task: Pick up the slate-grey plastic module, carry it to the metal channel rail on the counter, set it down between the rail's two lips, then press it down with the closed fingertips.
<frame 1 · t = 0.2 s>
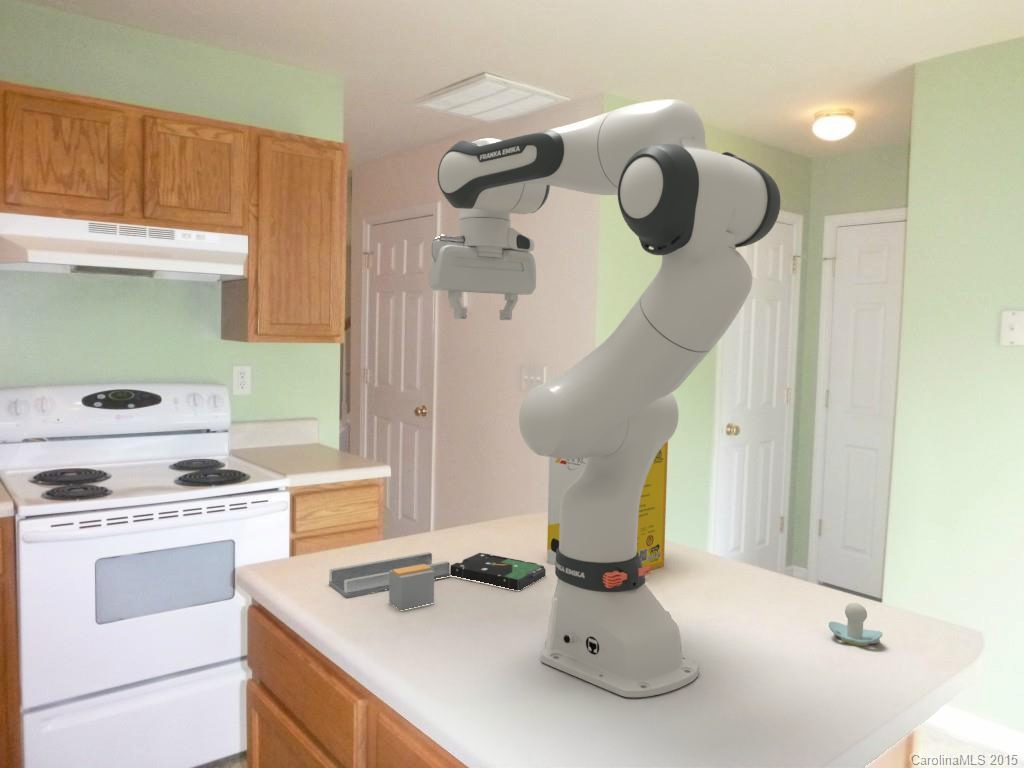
hand: (483, 319, 131), 47 cm above the countertop, tool pointing down, fingers open, 8 cm apart
module: (411, 604, 126), on the countertop
pacifier: (855, 642, 114), on the countertop
rail: (390, 581, 137), on the countertop
packaging box: (605, 565, 149), on the countertop
disk drive: (497, 580, 140), on the countertop
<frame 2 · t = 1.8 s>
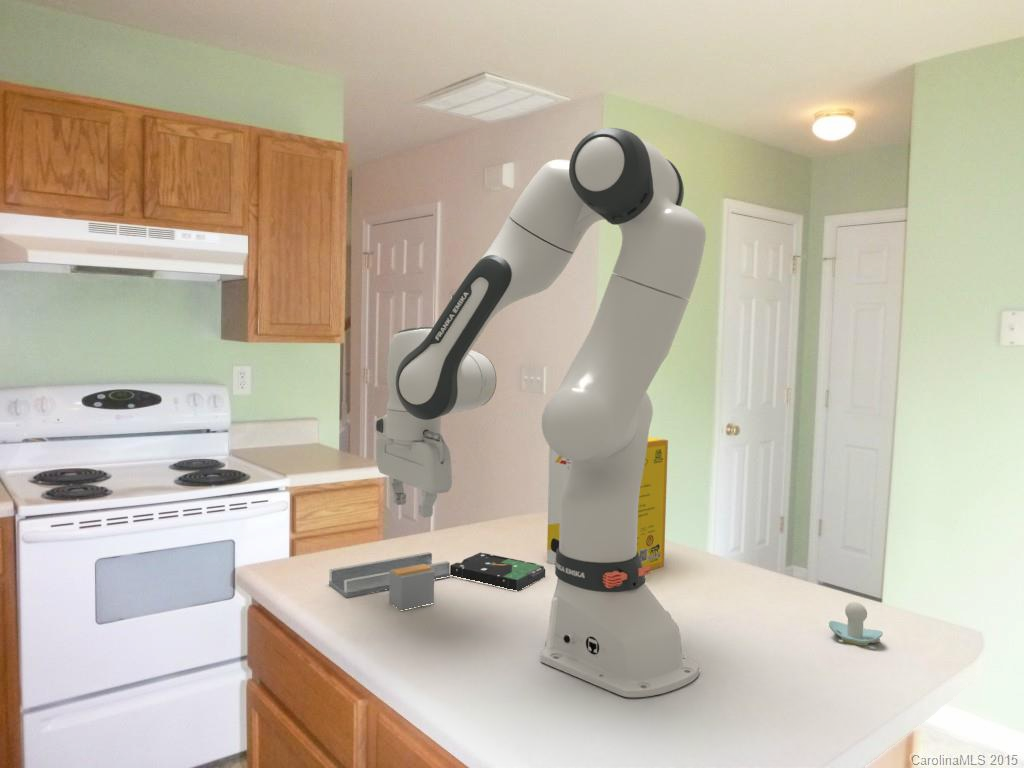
hand: (411, 509, 125), 16 cm above the countertop, tool pointing down, fingers open, 8 cm apart
nothing on the countertop moved.
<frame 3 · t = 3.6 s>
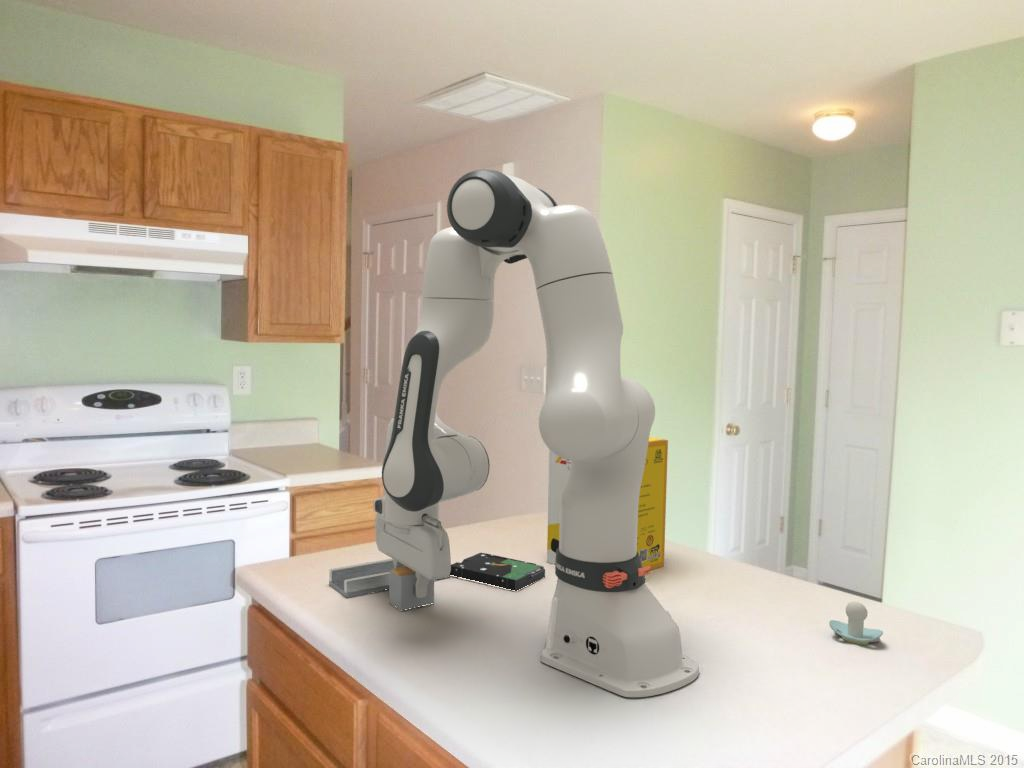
hand: (411, 591, 125), 2 cm above the countertop, tool pointing down, fingers closed on module, 4 cm apart
module: (411, 603, 126), on the countertop, touching gripper
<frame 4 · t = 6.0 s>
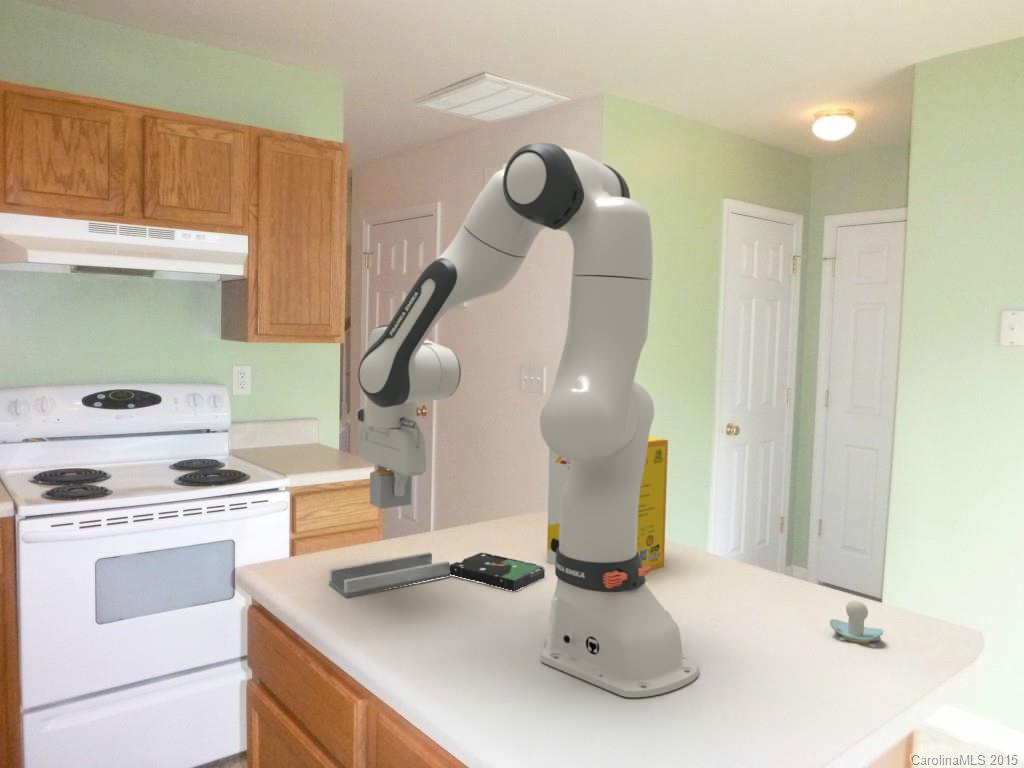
hand: (390, 492, 135), 16 cm above the countertop, tool pointing down, fingers closed on module, 4 cm apart
module: (390, 504, 136), point 14 cm above the countertop, touching gripper
when the fingers open (4 cm above the countertop, at t = 8.5 s): module drops 1 cm, resting on rail.
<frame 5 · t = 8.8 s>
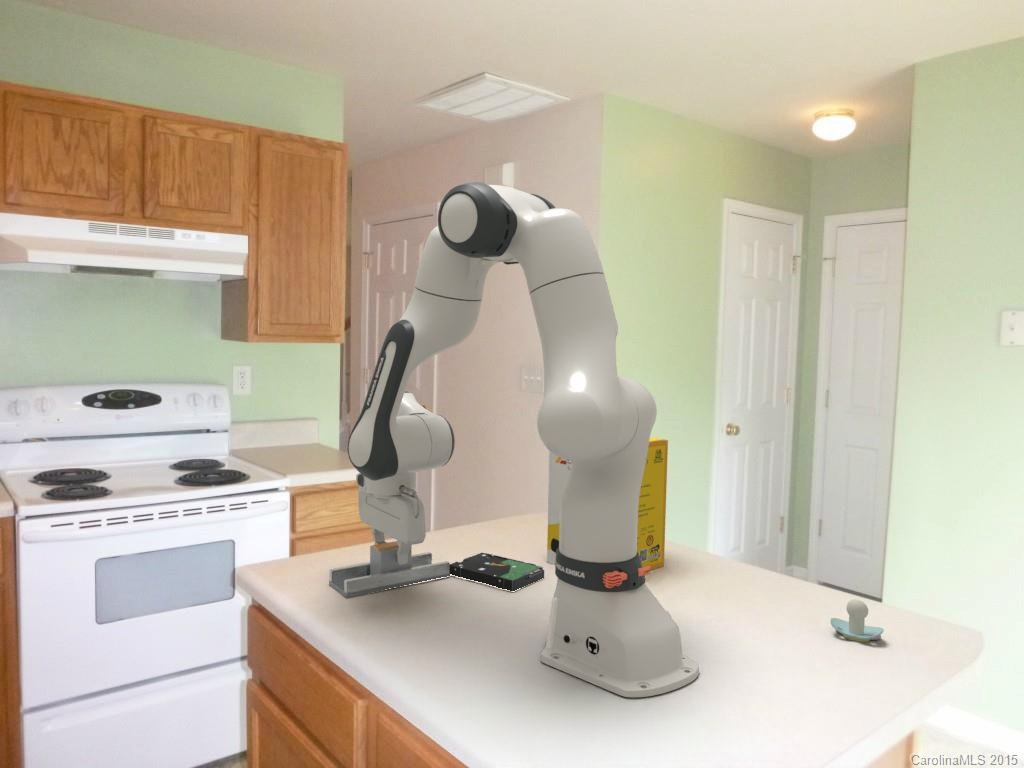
hand: (390, 557, 136), 4 cm above the countertop, tool pointing down, fingers open, 7 cm apart
module: (390, 576, 136), point 1 cm above the countertop, touching rail
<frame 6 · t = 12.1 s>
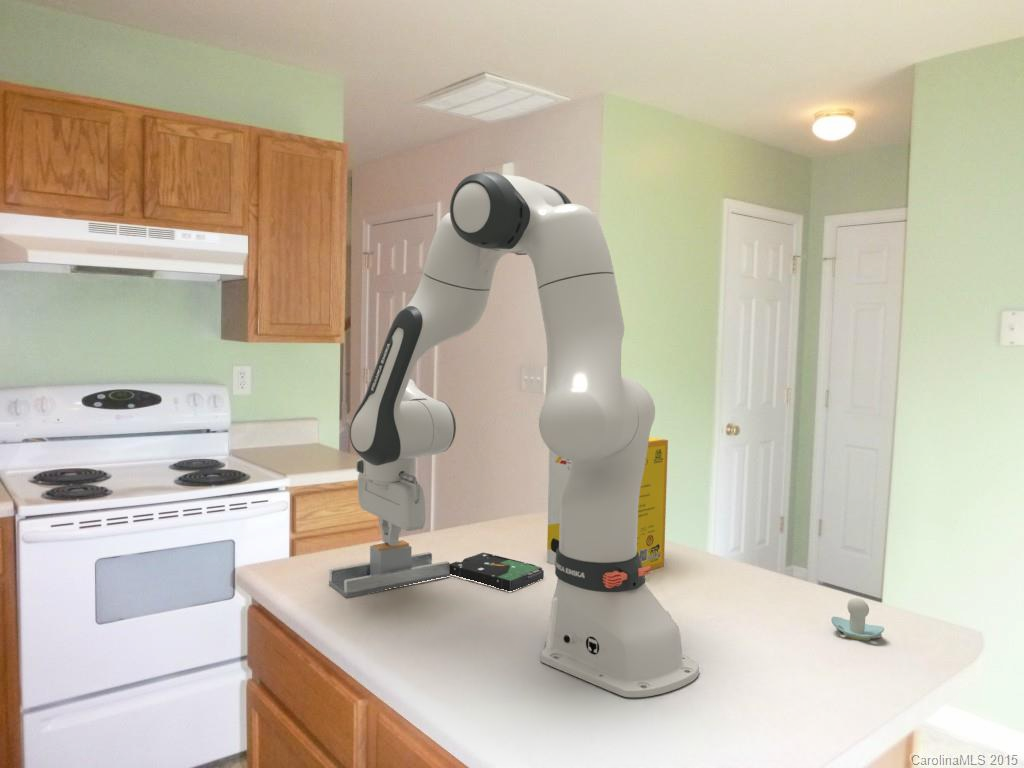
hand: (390, 543, 136), 7 cm above the countertop, tool pointing down, fingers closed, pressing on module
module: (390, 576, 136), point 1 cm above the countertop, touching gripper, rail
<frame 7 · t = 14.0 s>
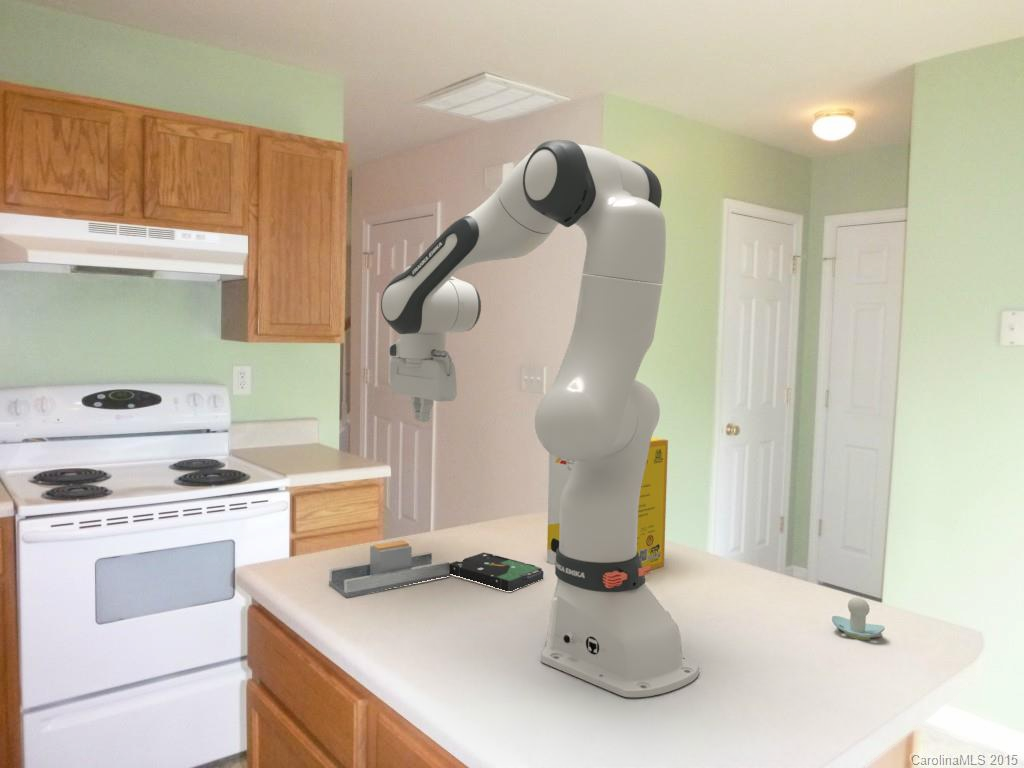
hand: (421, 421, 146), 28 cm above the countertop, tool pointing down, fingers closed
module: (390, 576, 136), point 1 cm above the countertop, touching rail
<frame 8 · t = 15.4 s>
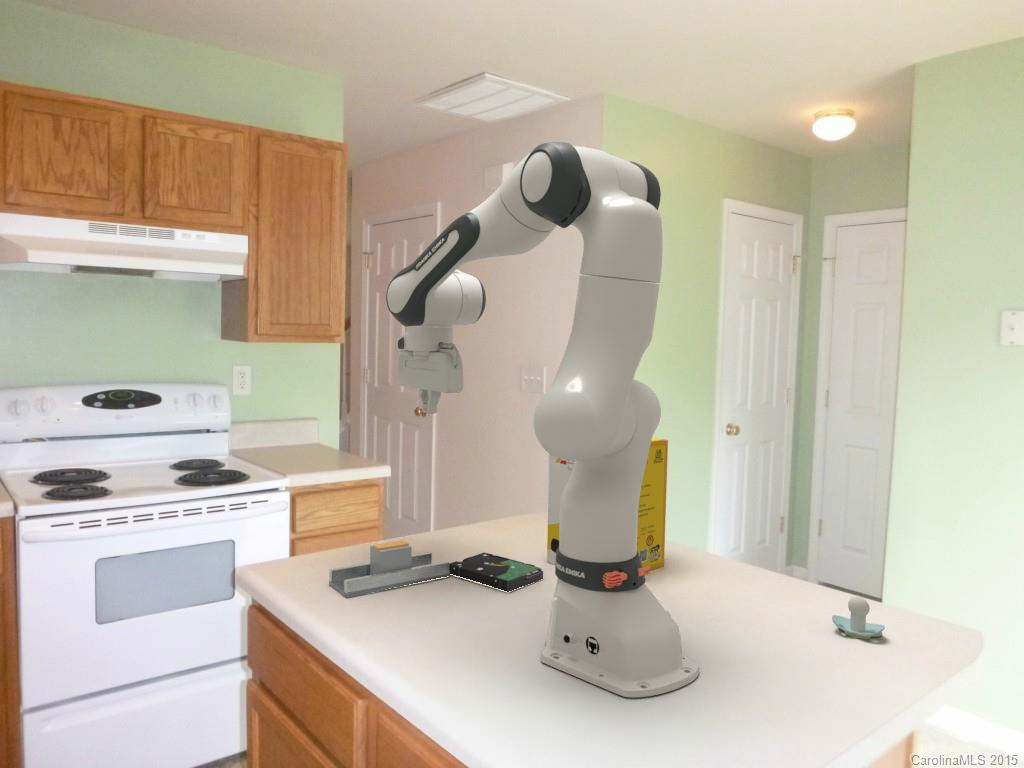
hand: (429, 413, 148), 29 cm above the countertop, tool pointing down, fingers closed
at the end: module inside the target area on the rail (0.1 cm from its centre), point 0.8 cm above the rail's base; module tilted 0°; the gripper is holding nothing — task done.
